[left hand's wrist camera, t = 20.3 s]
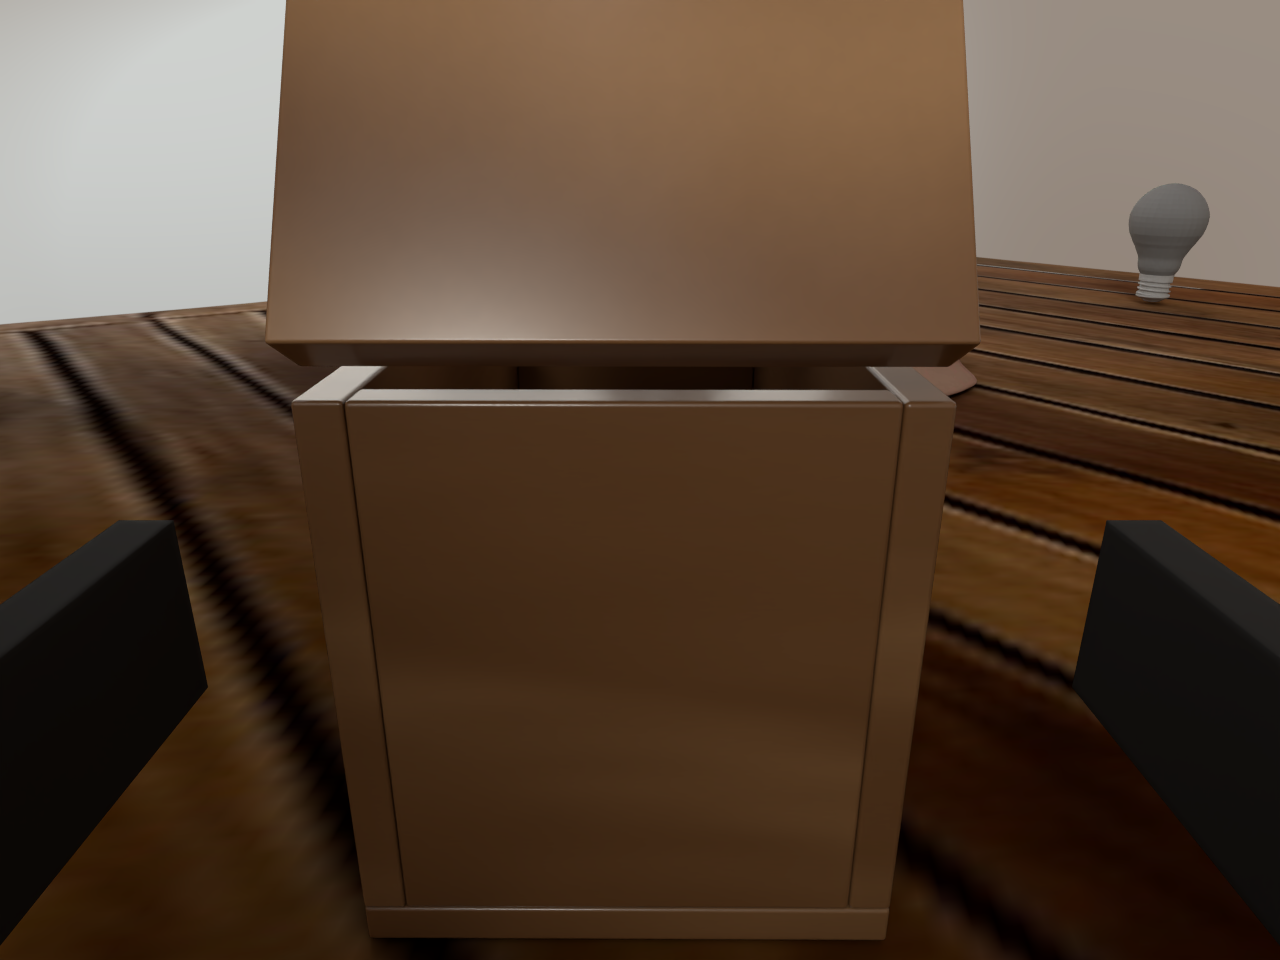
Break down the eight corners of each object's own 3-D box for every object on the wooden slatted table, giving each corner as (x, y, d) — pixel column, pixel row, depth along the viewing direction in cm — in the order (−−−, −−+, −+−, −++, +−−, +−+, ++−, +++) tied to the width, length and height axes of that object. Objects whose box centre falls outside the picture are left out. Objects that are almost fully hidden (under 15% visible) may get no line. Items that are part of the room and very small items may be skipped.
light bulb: (1129, 306, 76) (1153, 184, 72) (1103, 295, 81) (1125, 182, 78) (1202, 307, 75) (1230, 185, 71) (1172, 296, 80) (1196, 182, 77)
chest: (508, 539, 31) (492, 258, 27) (763, 539, 31) (779, 258, 27) (367, 939, 15) (287, 401, 12) (886, 942, 15) (959, 402, 12)
